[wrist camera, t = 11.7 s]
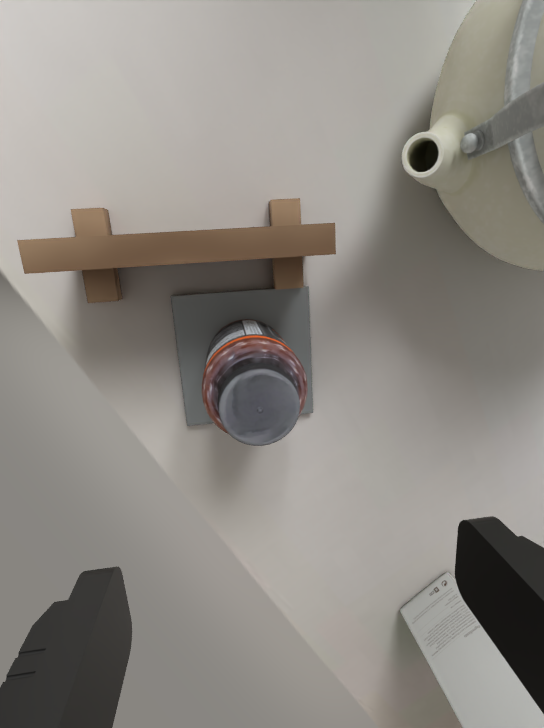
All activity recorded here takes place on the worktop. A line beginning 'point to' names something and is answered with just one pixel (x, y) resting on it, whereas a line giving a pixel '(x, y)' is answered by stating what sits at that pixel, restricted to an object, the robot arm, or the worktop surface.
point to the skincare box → (467, 661)
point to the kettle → (490, 131)
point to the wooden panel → (177, 248)
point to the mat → (215, 310)
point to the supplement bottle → (253, 383)
